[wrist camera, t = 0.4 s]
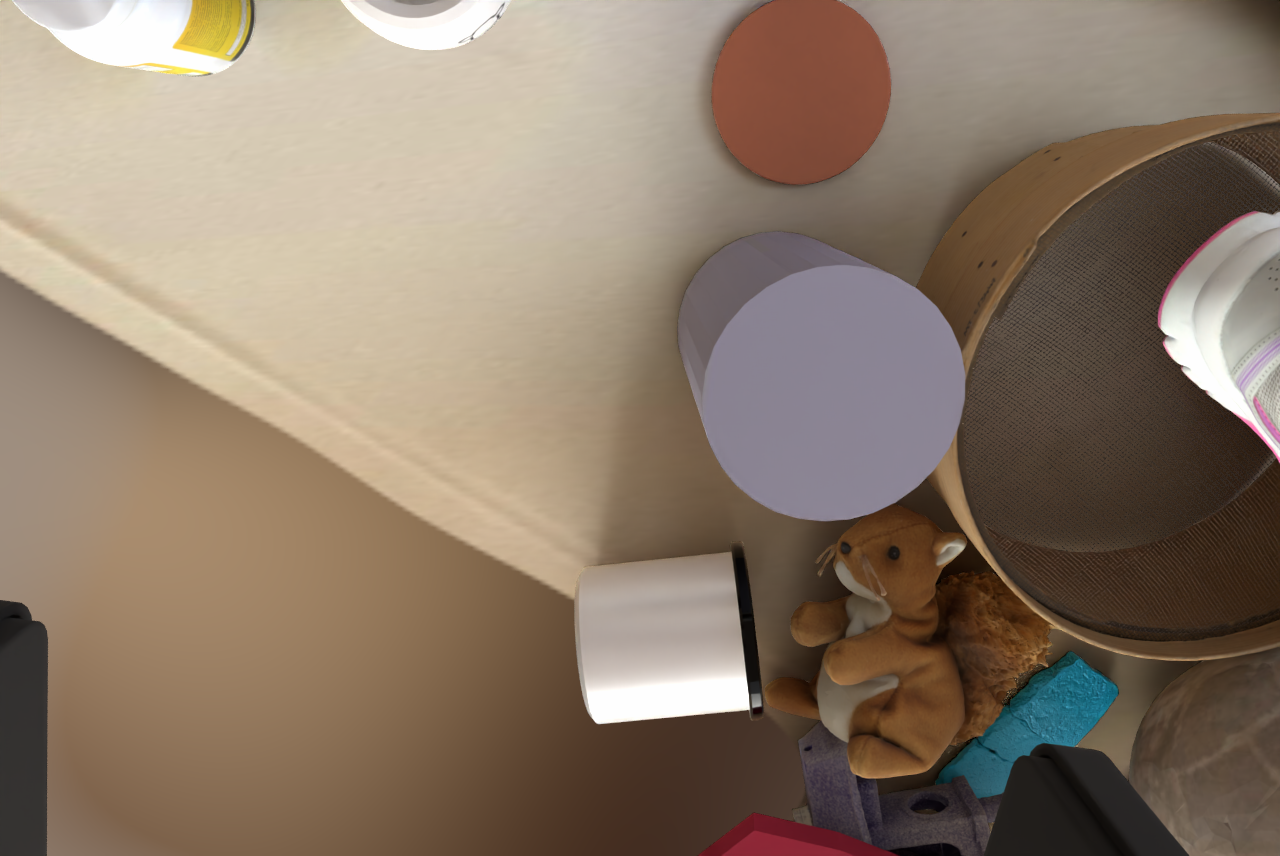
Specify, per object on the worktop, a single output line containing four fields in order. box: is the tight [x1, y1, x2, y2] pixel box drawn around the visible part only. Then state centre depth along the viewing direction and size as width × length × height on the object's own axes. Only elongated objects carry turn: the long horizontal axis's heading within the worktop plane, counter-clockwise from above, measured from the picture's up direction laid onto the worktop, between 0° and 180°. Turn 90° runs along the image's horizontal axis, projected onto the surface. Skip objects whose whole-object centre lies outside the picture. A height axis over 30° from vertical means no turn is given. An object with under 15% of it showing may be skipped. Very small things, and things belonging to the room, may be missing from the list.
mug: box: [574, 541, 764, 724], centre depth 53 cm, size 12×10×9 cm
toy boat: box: [792, 720, 1004, 856], centre depth 57 cm, size 15×8×13 cm
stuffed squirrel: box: [765, 503, 1061, 778], centre depth 53 cm, size 10×14×13 cm
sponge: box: [935, 651, 1119, 798], centre depth 59 cm, size 2×12×6 cm
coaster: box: [711, 0, 891, 185], centre depth 48 cm, size 9×9×1 cm
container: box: [677, 231, 965, 521], centre depth 44 cm, size 10×10×15 cm
